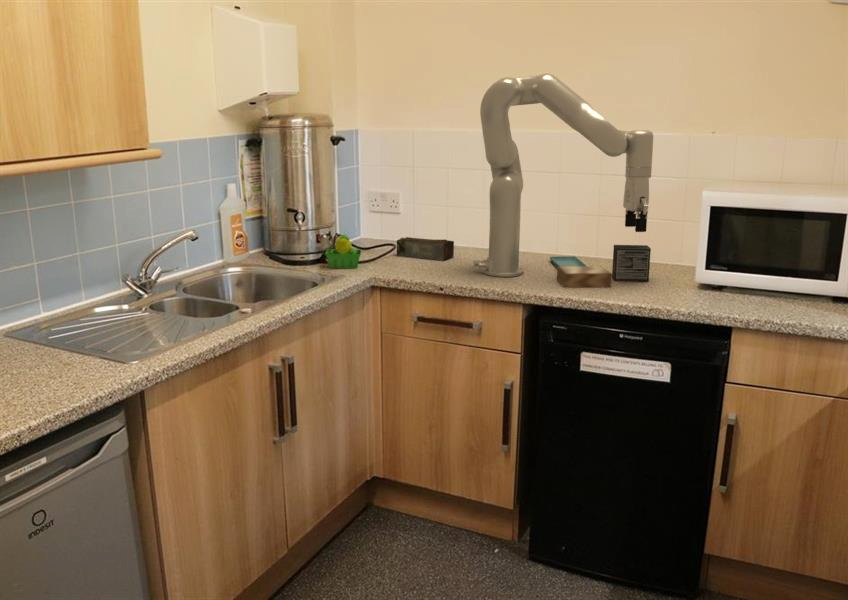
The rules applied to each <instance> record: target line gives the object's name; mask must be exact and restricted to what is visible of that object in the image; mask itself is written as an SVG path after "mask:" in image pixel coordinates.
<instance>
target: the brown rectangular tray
mask: <svg viewBox="0 0 848 600" xmlns="http://www.w3.org/2000/svg"><path fill="white" fill-rule="evenodd" d="M556 268H557V269H556V281H557V280H558V281H559V282H560V283H561V284H560V283H559V282H558V281H557V282H558V283H559V284H560V285H563V286H564V287H570V288H612V279H613V278H612V272H610V271H608V270H607V269H606V268H605V267H603V266H602V265H593V266H592V265H586V266H559V267H556ZM563 286H562V287H563ZM564 287H563V288H564Z"/></svg>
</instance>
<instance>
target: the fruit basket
mask: <svg viewBox="0 0 848 600" xmlns="http://www.w3.org/2000/svg"><path fill="white" fill-rule="evenodd" d="M352 244H353V243H352V242H351V240H350V238H349V236H347V235H346V234H341V235H339V236H338V237H337V239H336V240H335V244H334V246H335V247H334V249H330V248H329V249H328V248H327V249H326V252H325V256H326V259H327V262H328V267H329V269H357V268H358V265H359V261H360V258H361V254H362V249H356V248H353V247H352Z"/></svg>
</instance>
